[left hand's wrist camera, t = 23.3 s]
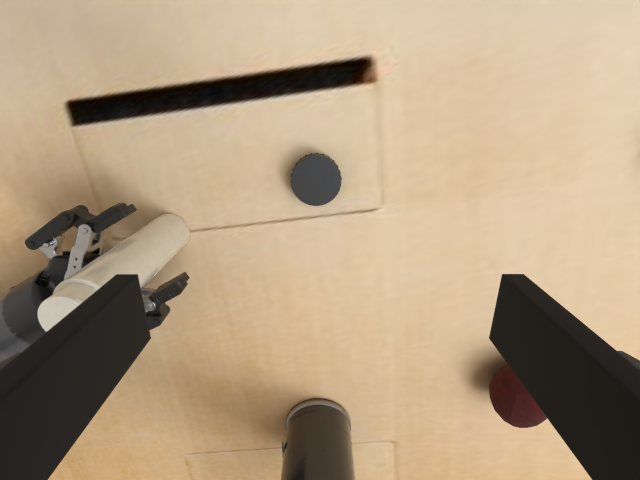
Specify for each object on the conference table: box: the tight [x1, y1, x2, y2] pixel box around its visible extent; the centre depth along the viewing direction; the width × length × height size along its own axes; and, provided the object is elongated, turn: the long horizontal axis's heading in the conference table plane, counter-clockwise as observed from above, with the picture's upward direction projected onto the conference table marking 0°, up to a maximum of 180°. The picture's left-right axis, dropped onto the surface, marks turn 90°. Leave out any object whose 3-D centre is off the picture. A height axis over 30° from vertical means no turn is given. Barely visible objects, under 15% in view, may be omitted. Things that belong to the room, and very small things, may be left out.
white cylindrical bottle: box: [38, 214, 190, 332], centre depth 33 cm, size 4×4×18 cm
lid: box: [291, 153, 342, 206], centre depth 38 cm, size 5×5×2 cm
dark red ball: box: [489, 365, 547, 428], centre depth 45 cm, size 7×8×7 cm
